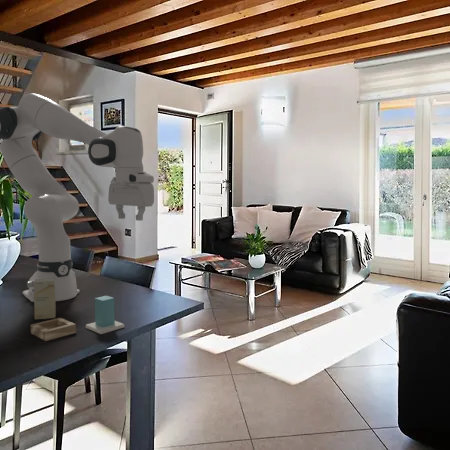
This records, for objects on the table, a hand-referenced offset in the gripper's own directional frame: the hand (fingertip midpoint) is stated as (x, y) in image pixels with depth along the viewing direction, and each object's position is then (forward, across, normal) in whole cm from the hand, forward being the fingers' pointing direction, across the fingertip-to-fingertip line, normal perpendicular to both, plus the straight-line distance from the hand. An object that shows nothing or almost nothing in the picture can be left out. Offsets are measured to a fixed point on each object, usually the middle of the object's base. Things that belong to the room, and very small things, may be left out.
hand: (130, 219), depth 142 cm
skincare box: (+31, -16, -22) cm, 41 cm away
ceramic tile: (+31, +7, -15) cm, 35 cm away
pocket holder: (+31, 0, -27) cm, 41 cm away
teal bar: (+30, +7, -15) cm, 34 cm away
